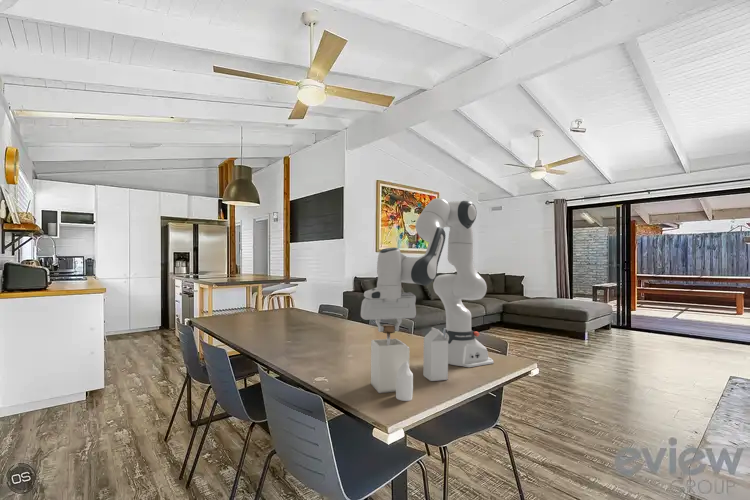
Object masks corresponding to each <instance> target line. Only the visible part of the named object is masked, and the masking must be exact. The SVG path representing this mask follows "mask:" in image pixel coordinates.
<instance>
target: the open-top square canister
mask: <svg viewBox="0 0 750 500" xmlns="http://www.w3.org/2000/svg"><path fill="white" fill-rule="evenodd" d="M370 341H371V342H370V343H371V346H370V348H371V349H370V385H371V386H372V387H373V388H374V389H375V390H376V392H377V393H378V394H386V393H387V394H388V393H396V377H397V372H398V369H399V368H400V367H401V365H402V364H403V363H405V362H408V364H409V365H410V346H408V345H407V344H406V343H404V341H402V340H400V339H398V338H390V345H387V338H384V339H370Z"/></svg>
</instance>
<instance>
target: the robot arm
mask: <svg viewBox="0 0 750 500" xmlns="http://www.w3.org/2000/svg"><path fill="white" fill-rule="evenodd" d="M477 214H478V213H477V207H476V205H475V204H474V202H472V201H471V200H460V201H459V200H454V201H453V200H452V201H447V200H445V199H443V198H439V197H437V198H433V199H431V200H430V201H429V203H427V205H425V207H424V208H423V210H422V211H421V213H420V215H419V216H418V218H417V220H416V222H415V231H416V233H417V235H418V236H419V237H420V238H421V240H424V241H425V242H427V243H428V246H427V248H426V251H425V254H424V255H421V256H419V257H409V256H406V255H405V254H403V253H402V252H401V249H400V248H398V247H386V248H383V249H381V250H380V251H379V252H378V256H377V262H376V263H377V264H376V273H377V274H376V275H377V281H376V287H374V288H371V289H368V290H365V291H364V293H363V297H364V298H363V300H362V301H361V306H360V317H361V318H362V319H363V320H366V321H369V320H371V321H373V320H375V321H374V322H375V324H376V326H377V328H378V329H377V330H378V333H383V331H384V330H383V329H384V327H383V325H381V322H382V321H381V320H395V319H396V321H397V322H396V324H395V332H399V331H400V325H401V324H402V322H403V319H415V317H416V315H417V309H416V306H417V305H416V301H417V296H416V295H415V294H414V293H413V292H410V291H409V292H402V283H404V284H405V283H406V284H416V285H421V286H429V285H430V284H431V283H432V282H433V284H432V287H433V291H434V293H435V294H436V296H438V297H439V299H440V300H441V303H442V305H443V307H444V310H445V311H444V312H445V329H444V330H445V331H444V337H445V338H446V339H447V340H448V365H451V366H459V367H465V368H472V367H479V366H484V365H485V366H487V365H493V364H494V360H493V358H491V357H489V353H488V352H489V351H488V349H487V347H486V346H484V344H482V343H481V342H480V341H479V340H477V337H479V336H480V332H479V331H475V330H472V313H471V311H470V310H469V309H468V307H467V308H466V306H465V305H464V303H463V302H462V301H463V300H464V301H465V300H466V301H476V300H482V299H483V298H484V297H485V295H486V294H487V291H488V289H487V288H488V285H487V282H486V281H485V279H484V278H483V277H482V276H481V275H480V274H479V272H478V271H477V269H476V267H475V263H474V255H473V254H474V233H473V224H474V222H475V221H476V218H477ZM444 228H449V231H448V232H449V233H448V239H447V261H448V263H449V264H451V265H452V266H453V267H454V268H455V270H456V273H455V274H454V273H445V274H440V275H437V273H438V265H439V262H440V259H441V255H442V252H443V250H444V246H445V243H446V235H447V234H446V232H445V229H444Z"/></svg>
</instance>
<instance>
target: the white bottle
mask: <svg viewBox="0 0 750 500" xmlns="http://www.w3.org/2000/svg"><path fill="white" fill-rule="evenodd" d="M413 393H414V373H413V372H412V371H411V369H410V363H409V364H408V362H405V363H403V364H402V365H401V367H400V368H399V369H398V372H397V377H396V392H395V398H396V399H397V400H398V401H403V402H408V401H409V402H411V401H412V400H413Z"/></svg>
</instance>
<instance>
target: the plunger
mask: <svg viewBox="0 0 750 500" xmlns="http://www.w3.org/2000/svg"><path fill="white" fill-rule="evenodd" d="M382 326H383V327H384V329H383V330H384V331H383V332H382V334H383V333H384V334H386V339H387V345H390V339H391V334H395V332H396V331H395V326H396V324H389V323H388V324H387V323H386V324H383V325H382Z"/></svg>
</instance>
